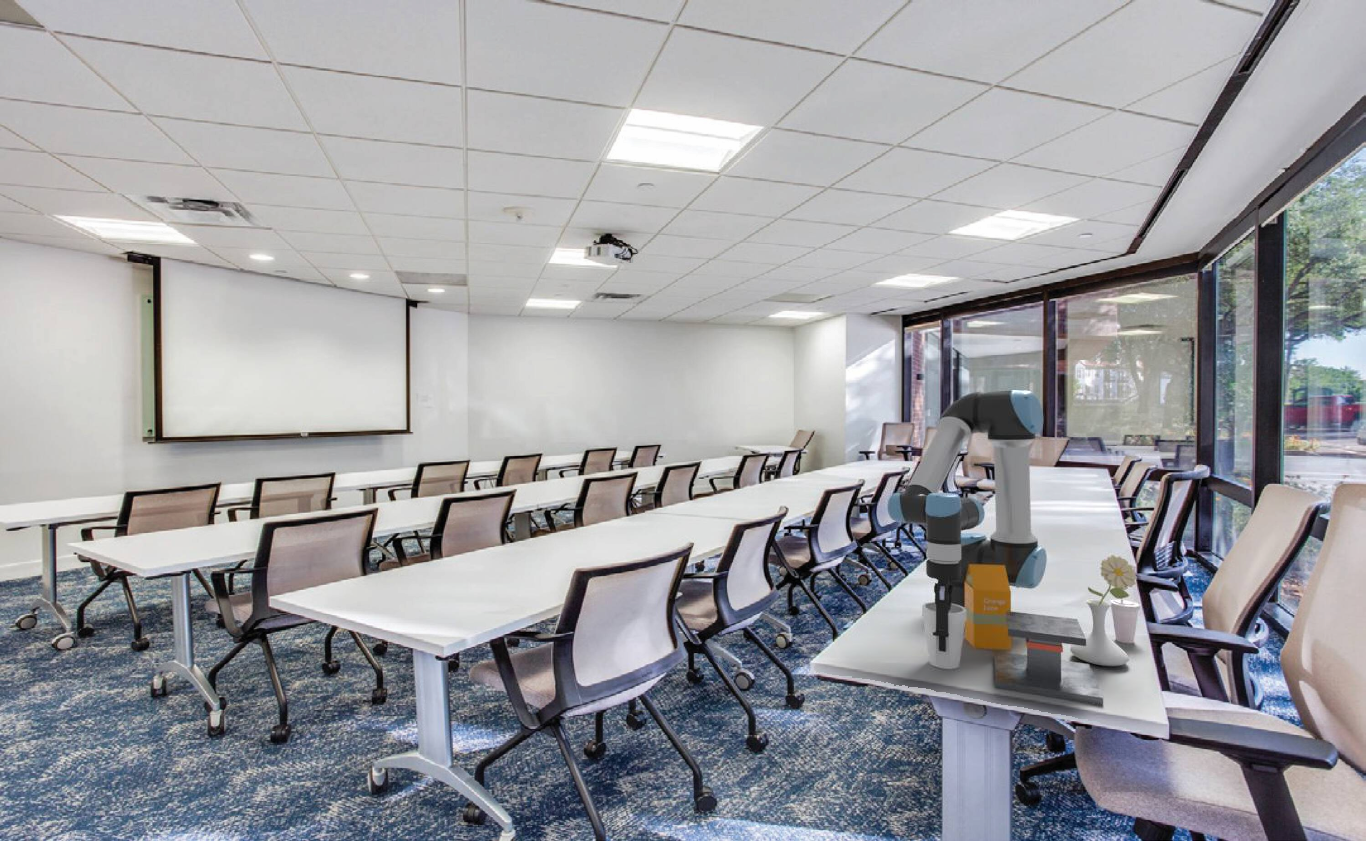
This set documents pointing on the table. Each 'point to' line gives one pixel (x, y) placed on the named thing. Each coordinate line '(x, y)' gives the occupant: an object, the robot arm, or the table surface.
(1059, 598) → the table surface
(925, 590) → the table surface
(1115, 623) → the smoothie
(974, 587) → the orange juice
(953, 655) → the foam cup
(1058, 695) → the stand
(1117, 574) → the flower in vase
